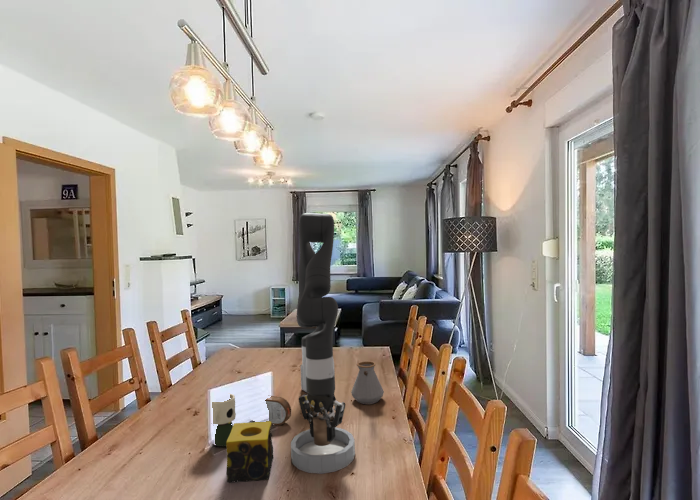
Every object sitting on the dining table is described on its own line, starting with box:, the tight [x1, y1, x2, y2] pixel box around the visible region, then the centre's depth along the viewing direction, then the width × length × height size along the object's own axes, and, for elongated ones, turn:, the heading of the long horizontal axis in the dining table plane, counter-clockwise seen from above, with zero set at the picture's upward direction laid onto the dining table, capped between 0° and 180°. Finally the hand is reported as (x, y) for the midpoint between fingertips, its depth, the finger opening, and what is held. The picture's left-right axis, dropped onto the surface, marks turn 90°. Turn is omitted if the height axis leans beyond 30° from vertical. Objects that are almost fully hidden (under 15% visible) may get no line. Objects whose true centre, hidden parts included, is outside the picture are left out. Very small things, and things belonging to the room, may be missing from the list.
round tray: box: [290, 426, 356, 474], centre depth 105 cm, size 16×16×4 cm
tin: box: [265, 395, 292, 426], centre depth 126 cm, size 15×3×8 cm, turn 71°
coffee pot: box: [350, 360, 385, 405], centre depth 136 cm, size 21×12×15 cm, turn 176°
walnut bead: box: [313, 414, 332, 446], centre depth 105 cm, size 5×5×6 cm
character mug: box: [212, 393, 237, 447], centre depth 113 cm, size 11×7×13 cm, turn 177°
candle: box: [225, 421, 274, 484], centre depth 99 cm, size 10×10×10 cm
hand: (322, 437), depth 105 cm, fingers closed on walnut bead, 4 cm apart
